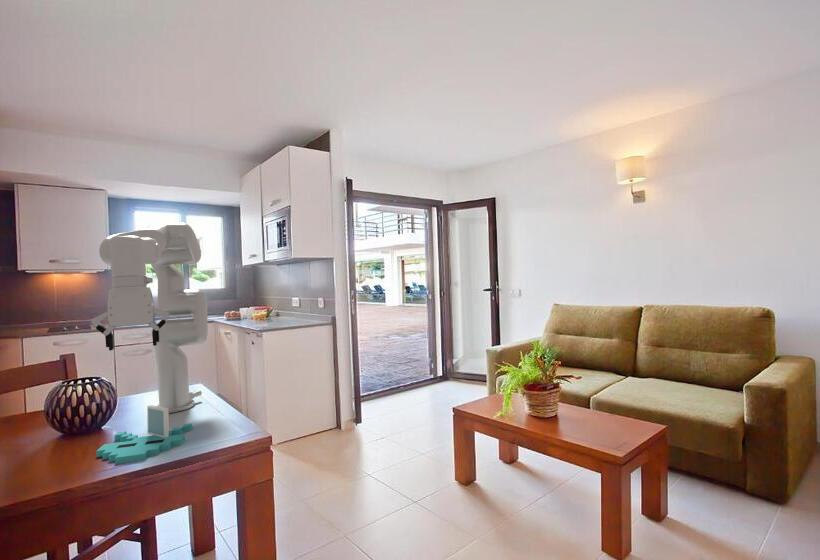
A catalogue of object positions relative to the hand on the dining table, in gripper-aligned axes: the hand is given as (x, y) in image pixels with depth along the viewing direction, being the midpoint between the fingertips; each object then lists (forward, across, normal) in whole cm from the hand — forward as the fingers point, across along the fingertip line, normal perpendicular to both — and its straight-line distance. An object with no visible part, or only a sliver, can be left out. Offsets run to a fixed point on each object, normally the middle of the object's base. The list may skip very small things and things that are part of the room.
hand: (133, 347), depth 110 cm
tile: (+27, -4, -7) cm, 28 cm away
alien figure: (+29, 0, -5) cm, 30 cm away
